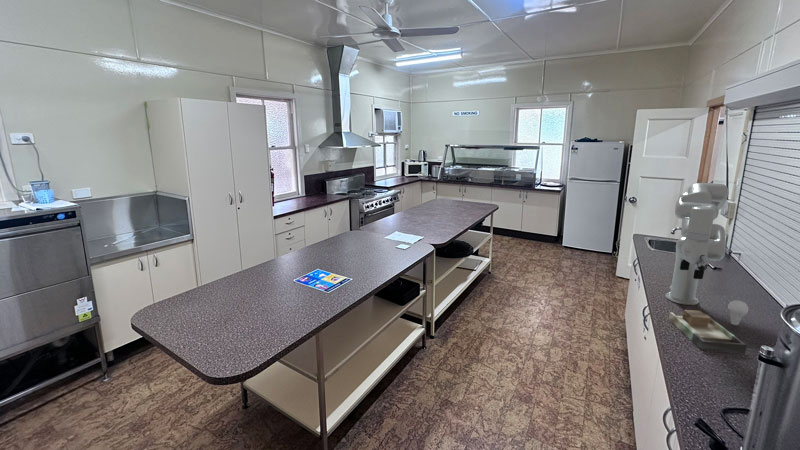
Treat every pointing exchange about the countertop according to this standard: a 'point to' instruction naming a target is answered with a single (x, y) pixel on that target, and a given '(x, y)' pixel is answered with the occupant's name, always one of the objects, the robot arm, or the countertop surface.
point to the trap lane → (709, 336)
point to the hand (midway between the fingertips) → (690, 274)
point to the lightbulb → (737, 311)
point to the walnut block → (695, 318)
